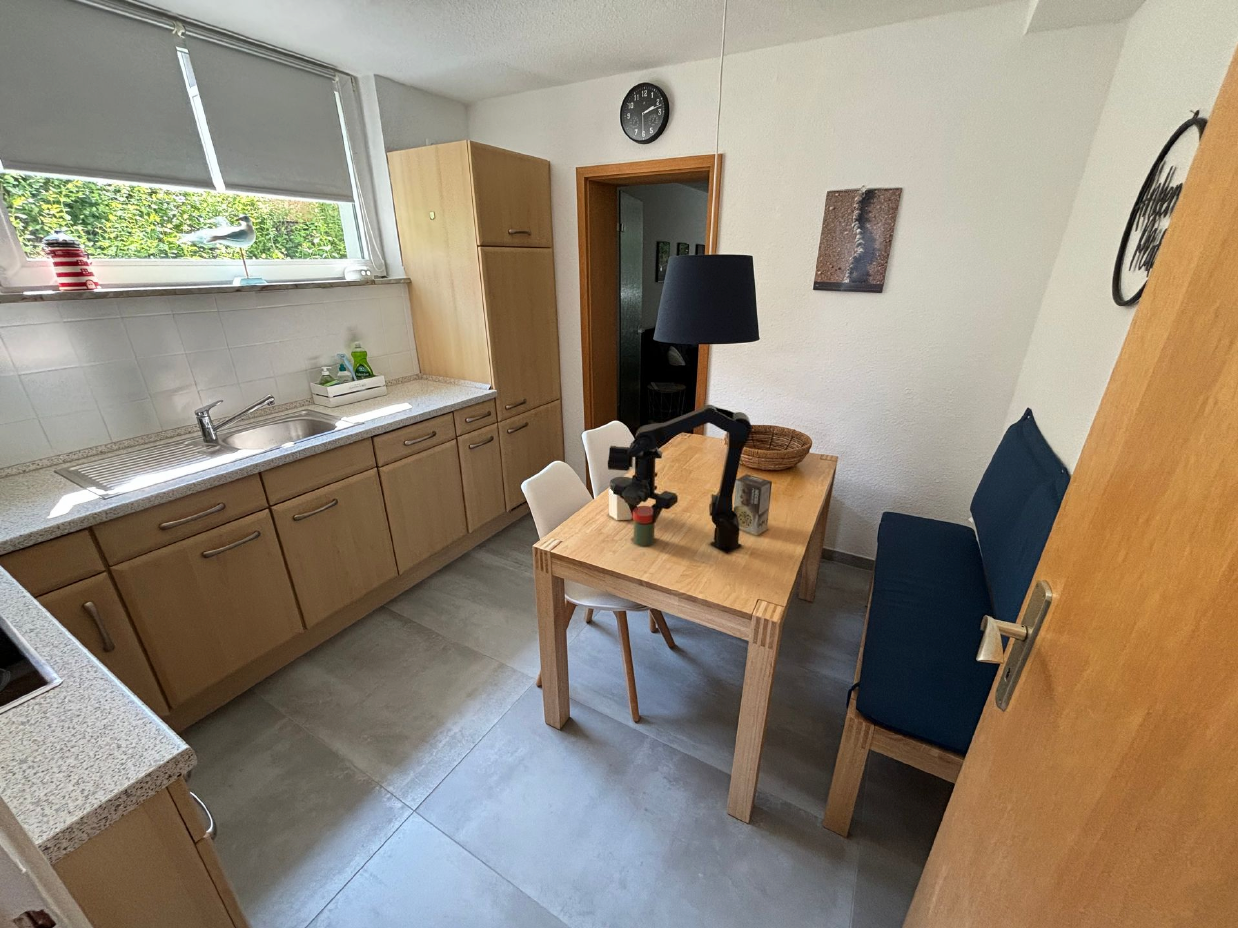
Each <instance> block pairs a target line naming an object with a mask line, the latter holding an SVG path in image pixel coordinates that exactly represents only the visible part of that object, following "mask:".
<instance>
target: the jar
mask: <svg viewBox="0 0 1238 928" xmlns="http://www.w3.org/2000/svg"><path fill="white" fill-rule="evenodd" d="M622 480H627V481H632V477H630V476H617V477H613V478H611V480H610V481H609V489H608V509H609V510H608V515H609V517H611V518H613V519H614V520H616V521H630V520H633V516H632V514H631V511H630V508H629V506H628V504H627V503H625V501H624V499H622V498H620V496H618V495H615V494H613V487H614V485H615V484H617V483H618V482H620V481H622Z"/></svg>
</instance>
